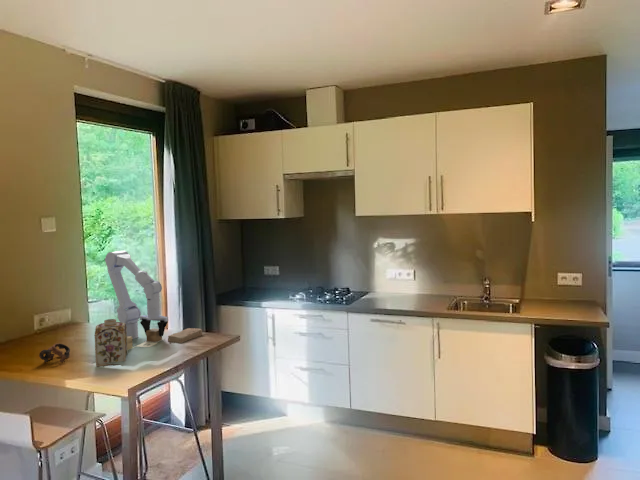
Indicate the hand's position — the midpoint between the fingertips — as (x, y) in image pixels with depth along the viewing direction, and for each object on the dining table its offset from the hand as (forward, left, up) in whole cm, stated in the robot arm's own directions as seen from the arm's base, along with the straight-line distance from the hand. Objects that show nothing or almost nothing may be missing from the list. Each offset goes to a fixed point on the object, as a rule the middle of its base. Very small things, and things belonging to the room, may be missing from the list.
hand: (154, 335), depth 245 cm
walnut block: (0, 0, -2) cm, 2 cm away
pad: (0, 0, -2) cm, 2 cm away
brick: (+12, +8, -4) cm, 15 cm away
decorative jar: (0, -30, -4) cm, 30 cm away
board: (-1, -8, -4) cm, 9 cm away
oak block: (-5, -16, -2) cm, 16 cm away
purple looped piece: (-25, -35, -4) cm, 43 cm away
